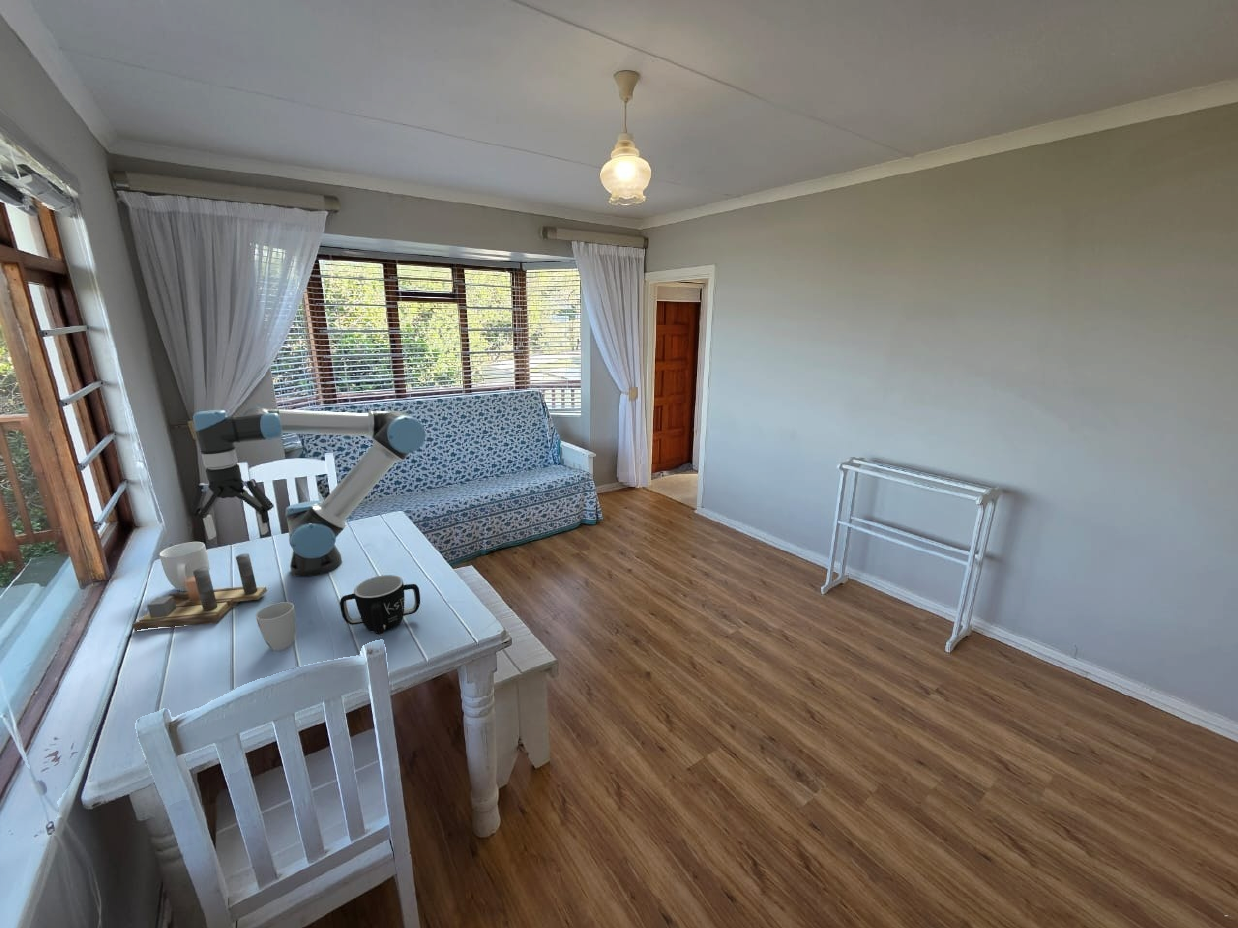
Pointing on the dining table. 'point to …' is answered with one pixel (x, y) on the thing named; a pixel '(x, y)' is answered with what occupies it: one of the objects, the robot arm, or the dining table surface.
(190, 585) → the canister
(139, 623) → the lane board
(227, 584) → the dining table surface
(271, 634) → the cup
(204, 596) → the strip
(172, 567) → the mug
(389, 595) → the mug
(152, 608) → the rubber block
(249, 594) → the strip
